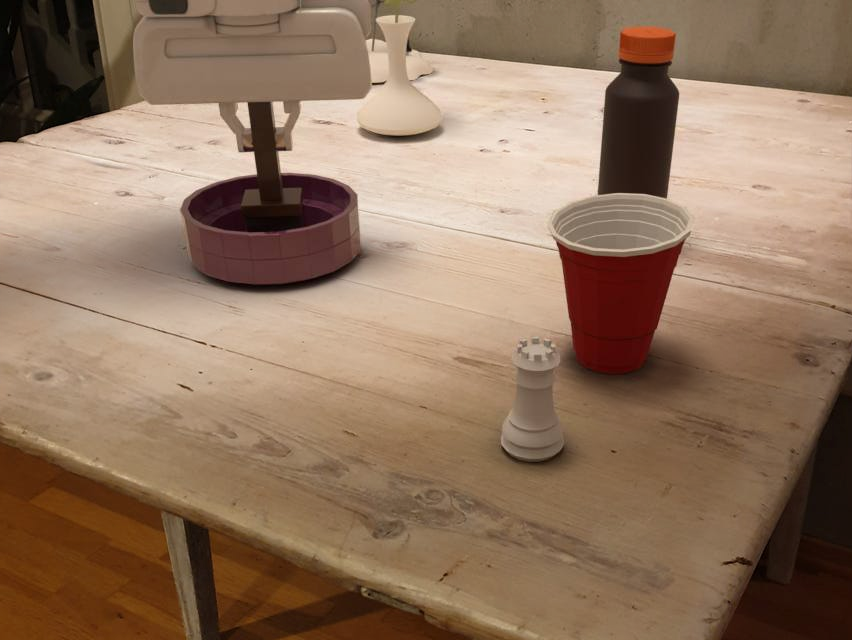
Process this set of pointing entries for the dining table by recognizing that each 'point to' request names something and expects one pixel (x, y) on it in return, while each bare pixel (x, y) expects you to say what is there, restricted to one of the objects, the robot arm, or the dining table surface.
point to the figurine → (381, 61)
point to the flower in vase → (398, 87)
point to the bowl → (271, 251)
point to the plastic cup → (617, 273)
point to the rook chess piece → (533, 404)
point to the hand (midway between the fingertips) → (265, 150)
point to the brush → (269, 180)
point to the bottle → (640, 116)
